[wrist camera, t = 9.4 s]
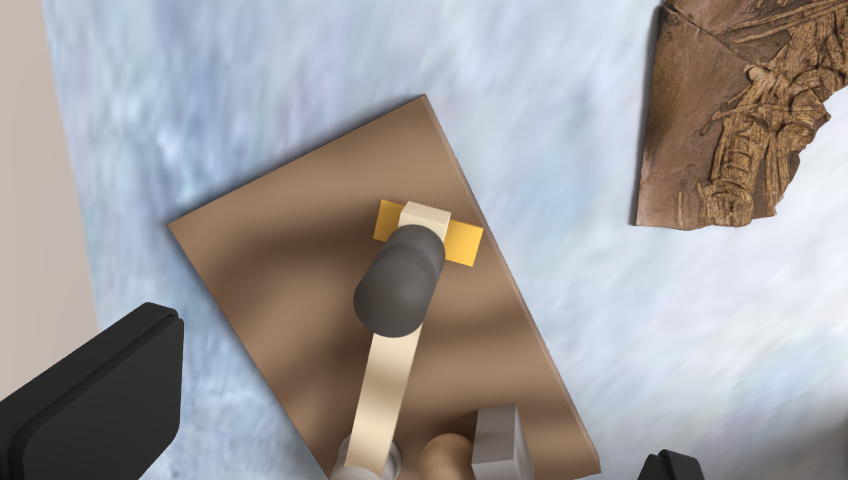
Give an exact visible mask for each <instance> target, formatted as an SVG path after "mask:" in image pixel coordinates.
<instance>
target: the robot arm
mask: <svg viewBox="0 0 848 480" xmlns="http://www.w3.org/2000/svg"><path fill="white" fill-rule="evenodd" d="M183 341H184V322H183V320H182V319H180V318H178V313H177V311H176V310H175V309H172V308H168V307H165V306H161V305H158V304H154V303H151V302H146V303H144V304H142V305H141V306H139V307H138V308H136V309H135V310H133V311H132V312H130V313H129V314H127V315H126V316H125V317H123V318H122V319H120V320H119V321H117V322H116V323H114V324H113V325H111V326H110V327H108V328H107V329H106V330H104V331H103V332H101V333H100V334H98V335H97V336H95V337H94V338H93V339H91V340H89V341H88V342H87V343H85V344H84V345H82V346H81V347H79V348H78V349H76V350H75V351H73V352H72V353H71V354H69V355H68V356H66V357H65V358H63V359H62V360H60V361H59V362H57V363H56V364H54V365H53V366H52V367H50V368H49V369H47V370H46V371H44V372H43V373H41V374H40V375H38V376H37V377H35V378H34V379H33V380H31V381H30V382H28V383H27V384H25V385H24V386H22V387H21V388H19V389H18V390H17V391H15V392H14V393H12V394H11V395H9V396H8V397H6V398H5V399H3V400H2V401H1V402H0V480H138V479H139V478H140V477H141V476H142V475H143V474H144V473H145V471H146V470H147V469H148V468H149V467H150V466H151V465H152V464H153V463H154V461H155V460H156V459H157V458H158V457H159V456H160V455H161V454H162V453H163V451H164V450H165V449H166V448H167V447H168V446H169V445H170V444H171V442H172V441H173V440H174V438H175V436H176V434H177V432H178V429H179V424H180V405H181V384H182V362H183ZM637 480H705V479H704V476H703V473H702V471H701V468H700V465H699V463H698V461H697V459H695V458H693V457H690V456H686V455H683V454H679V453H676V452H672V451H669V450H665V449H664V450H661V451H660V452H659V454H658V456H657V455H654V454H650V455H649V456H648V457H647V459H646V461H645V464H644V466H643V468H642V470H641V473H640V475H639V477H638V479H637Z"/></svg>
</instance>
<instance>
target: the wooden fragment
mask: <svg viewBox="0 0 848 480" xmlns="http://www.w3.org/2000/svg"><path fill="white" fill-rule="evenodd" d="M666 3H670V4H671V6H674V8H675V9H677V10H678V11H677V12H673V11H672V10H671V9H669V8H670V7H671V6H670V7H668V8H667V6H666V5H665V4H666ZM666 3H665V4H664V5H662V6H661V7H660V9H659V12H658V31H659V33H658V37H657V42H656V52H655V61H654V71H653V77H652V86H651V95H650V105H649V113H648V121H647V129H646V138H645V143H644V147H645V149H644V154H643V164H642V168H641V175H642V177H641V180H640V190H639V200H638V211H637V221H636V225H634V226H654V227H665V228H672V229H677V230H684V231H691V230H695V229H700V228H703V227H706V226H710V225H717V226H732V227H735V228H736V227H742V226H746V225H748V224H749V223H751V221H752V219H758V218H765V217H772V216H775V215H777V214H776V210H775V206H776V205H777V204H778V203H779V202H780V201H781V200H782V199H783V193H784V192H785V190H786V188H787V186H788V184H789V183H790V182H791V181H792V179H793V178H794V176H795V173H796V171H797V169H798V167H799V164H800V159H799V155H798V154H799V153H800V152H801V150H803V149H805V148H806V145H807V144H809V143H811V142H812V141H813V139H814V137H815V135H816V132H817V130H818V129H819V128H820V127H821V126H822V125H824V124H825V123H826V122H828V121H829V120H830V118H831V115H830V114H829V113H828V112H827V111H826V109H825V107H824V105H823V103H824V102H825V101H826V100H827V99H829V97H830V96H831V95H832V94H833V93H834V92H835V91H838V90H840V89H842V88H844V87H846V86H847V85H848V0H667V1H666Z"/></svg>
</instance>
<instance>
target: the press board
mask: <svg viewBox="0 0 848 480" xmlns="http://www.w3.org/2000/svg"><path fill="white" fill-rule="evenodd" d="M408 201H411V202H414V203H418V204H422V205H425V206H429V207H433V208H436V209H440V210H443V211H447V212H451V216H450V220H449V224H448V227H447V231H446V235H445V239H444V243H443V244H444V247H445V253H446V256H445V262H444V265H443V268H442V271H441V273H440V276H439V279H438V282H437V285H436V287H435V290H434V293H433V296H432V299H431V301H430V304H429V307H428V310H427V312H426V315H425V318H424V320H423V324H422V328H421V331H420V335H419V339H418V343H417V347H416V351H415V354H414V358H413V362H412V366H411V370H410V374H409V378H408V381H407V385H406V389H405V393H404V397H403V401H402V405H401V408H400V412H399V416H398V420H397V424H396V428H395V431H394V435H393V439H392V443H391V447H390V452H391V454H392V455H393V456H394V458H395V460H396V464H397V472H396V476H395V479H394V480H574V479H578V478H582V477H586V476H590V475H594V474H598V473H601V467H600V461H599V456H598V454H597V451H596V449H595V447H594V445H593V443H592V441H591V439H590V437H589V435H588V433H587V431H586V428H585V426H584V424H583V422H582V420H581V418H580V416H579V414H578V412H577V410H576V408H575V405H574V403H573V401H572V399H571V397H570V395H569V393H568V391H567V389H566V387H565V385H564V382H563V380H562V378H561V376H560V374H559V372H558V370H557V368H556V366H555V364H554V362H553V359H552V357H551V355H550V353H549V351H548V349H547V347H546V345H545V343H544V341H543V339H542V336H541V334H540V332H539V330H538V328H537V326H536V324H535V322H534V320H533V318H532V316H531V313H530V311H529V309H528V307H527V305H526V303H525V301H524V299H523V297H522V295H521V293H520V290H519V288H518V286H517V284H516V282H515V280H514V278H513V276H512V274H511V272H510V270H509V267H508V265H507V263H506V261H505V259H504V257H503V255H502V253H501V251H500V249H499V247H498V244H497V242H496V240H495V238H494V236H493V234H492V232H491V230H490V228H489V226H488V224H487V221H486V219H485V217H484V215H483V213H482V211H481V209H480V207H479V205H478V203H477V201H476V198H475V196H474V194H473V192H472V190H471V188H470V186H469V184H468V182H467V180H466V178H465V175H464V173H463V171H462V169H461V167H460V165H459V163H458V161H457V159H456V157H455V155H454V152H453V150H452V148H451V146H450V144H449V142H448V140H447V138H446V136H445V134H444V132H443V129H442V127H441V125H440V123H439V121H438V119H437V117H436V115H435V113H434V111H433V109H432V106H431V104H430V102H429V100H428V98H427V96H426V94H424V95H422V96H420V97H419V98H417V99H415V100H413V101H411V102H409V103H407V104H405V105H403V106H401V107H399V108H397V109H395V110H393V111H391V112H389V113H387V114H385V115H383V116H381V117H379V118H377V119H375V120H373V121H371V122H369V123H367V124H365V125H363V126H361V127H359V128H357V129H355V130H353V131H351V132H349V133H347V134H345V135H343V136H341V137H339V138H337V139H335V140H333V141H331V142H329V143H327V144H325V145H323V146H321V147H319V148H317V149H315V150H313V151H311V152H309V153H307V154H305V155H303V156H301V157H299V158H297V159H295V160H293V161H291V162H289V163H287V164H285V165H283V166H281V167H279V168H277V169H275V170H273V171H271V172H269V173H267V174H265V175H263V176H261V177H259V178H257V179H255V180H253V181H251V182H249V183H247V184H246V185H244V186H242V187H240V188H238V189H236V190H234V191H232V192H230V193H228V194H226V195H224V196H222V197H220V198H218V199H216V200H214V201H212V202H210V203H208V204H206V205H204V206H202V207H200V208H198V209H196V210H194V211H192V212H190V213H188V214H186V215H184V216H182V217H180V218H178V219H176V220H175V221H173V222H171V223H169V224H167V225H168V227H169V228H170V230H171V231H172V233H173V235H174V236H175V238H176V239H177V241H178V242H179V244H180V246H181V247H182V249H183V250H184V252H185V254H186V255H187V257H188V258H189V260H190V261H191V263H192V265H193V266H194V268H195V269H196V271H197V272H198V274H199V276H200V277H201V279H202V280H203V282H204V284H205V285H206V287H207V288H208V290H209V291H210V293H211V295H212V296H213V298H214V299H215V301H216V302H217V304H218V306H219V307H220V309H221V310H222V312H223V314H224V315H225V317H226V318H227V320H228V321H229V323H230V325H231V326H232V328H233V329H234V331H235V332H236V334H237V336H238V337H239V339H240V340H241V342H242V344H243V345H244V347H245V348H246V350H247V351H248V353H249V355H250V356H251V358H252V359H253V361H254V362H255V364H256V366H257V367H258V369H259V370H260V372H261V374H262V375H263V377H264V378H265V380H266V381H267V383H268V385H269V386H270V388H271V389H272V391H273V392H274V394H275V396H276V397H277V399H278V400H279V402H280V404H281V405H282V407H283V408H284V410H285V411H286V413H287V415H288V416H289V418H290V419H291V421H292V422H293V424H294V426H295V427H296V429H297V430H298V432H299V434H300V435H301V437H302V438H303V440H304V441H305V443H306V445H307V446H308V448H309V449H310V451H311V452H312V454H313V456H314V457H315V459H316V460H317V462H318V464H319V465H320V467H321V468H322V470H323V471H324V473H325V475H326V476H327V478H328V479H329V478H330V476H331V473H332V471H333V469H334V467H335V464H336V462H337V460H338V457H339V455H340V453H341V451H342V449H343V448H344V447H345V446H346V445H347V444H349V443H350V438H351V434H352V429H353V425H354V421H355V416H356V412H357V407H358V403H359V398H360V394H361V389H362V385H363V380H364V376H365V371H366V367H367V362H368V358H369V353H370V349H371V345H372V340H373V336H374V333H373V332H372V331H370V330H369V329H367V328H366V327H365V326H364V325H363V324H362V323H361V321H360V320H359V318H358V317H357V315H356V312H355V309H354V305H353V297H354V292H355V289H356V287H357V285H358V284H359V282H360V281H361V279H362V278H363V276H364V275H365V273H366V272H367V270H368V269H369V267H370V266H371V264H372V263H373V261H374V259H375V258H376V256H377V255H378V253H379V252H380V250H381V249H382V247H383V246H384V244H385V243H386V241H387V240H388V238H389V237H390V235H391V234H392V233H393V232H394V231H395V230H396V229H397V228H398V224H399V219H400V215H401V212H402V210H403V209H404V207H405V206H406V204H407V203H408Z"/></svg>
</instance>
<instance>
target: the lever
mask: <svg viewBox="0 0 848 480" xmlns="http://www.w3.org/2000/svg"><path fill="white" fill-rule="evenodd" d="M450 216H451V212H447V211H443V210H440V209H436V208H433V207H429V206H425V205H422V204H418V203H414V202H411V201H408V203H407V204H406V206H405V207H404V209H403V210H402V212H401V215H400V219H399V224H398V228H397V229H396V230H395V231H394V232H393V233H392V234H391V235H390V237H389V238H388V240H387V241H386V243H385V244H384V246H383V247H382V249H381V250H380V252H379V253H378V255H377V256H376V258H375V259H374V261H373V263H372V264H371V266H370V267H369V269H368V270H367V272H366V273H365V275H364V276H363V278H362V279H361V281H360V282H359V284H358V285H357V287H356V289H355V292H354V297H353V305H354V309H355V312H356V315H357V317H358V318H359V320H360V321H361V323H362V324H363V325H364V326H365V327H366V328H367V329H369V330H370V331H372V332H373V333H374V336H373V340H372V345H371V349H370V353H369V358H368V362H367V367H366V371H365V376H364V380H363V385H362V389H361V394H360V398H359V403H358V407H357V412H356V416H355V421H354V425H353V429H352V434H351V438H350V443H349V444H347V445H346V446H345V447H344V448H343V449H342V451H341V453H340V455H339V457H338V460H337V462H336V464H335V467H334V469H333V471H332V473H331V476H330V478H329V480H394V479H395V476H396V472H397V464H396V460H395V458H394V456H393V455H392V454H391V452H390V447H391V443H392V439H393V435H394V431H395V428H396V424H397V420H398V416H399V412H400V408H401V405H402V401H403V397H404V393H405V389H406V385H407V381H408V378H409V374H410V370H411V366H412V362H413V358H414V354H415V351H416V347H417V343H418V339H419V335H420V331H421V328H422V324H423V320H424V318H425V315H426V312H427V310H428V307H429V304H430V301H431V299H432V296H433V293H434V290H435V287H436V285H437V282H438V279H439V276H440V273H441V271H442V268H443V265H444V262H445V256H446V253H445V247H444V244H443V243H444V239H445V235H446V231H447V227H448V224H449V220H450Z"/></svg>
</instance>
